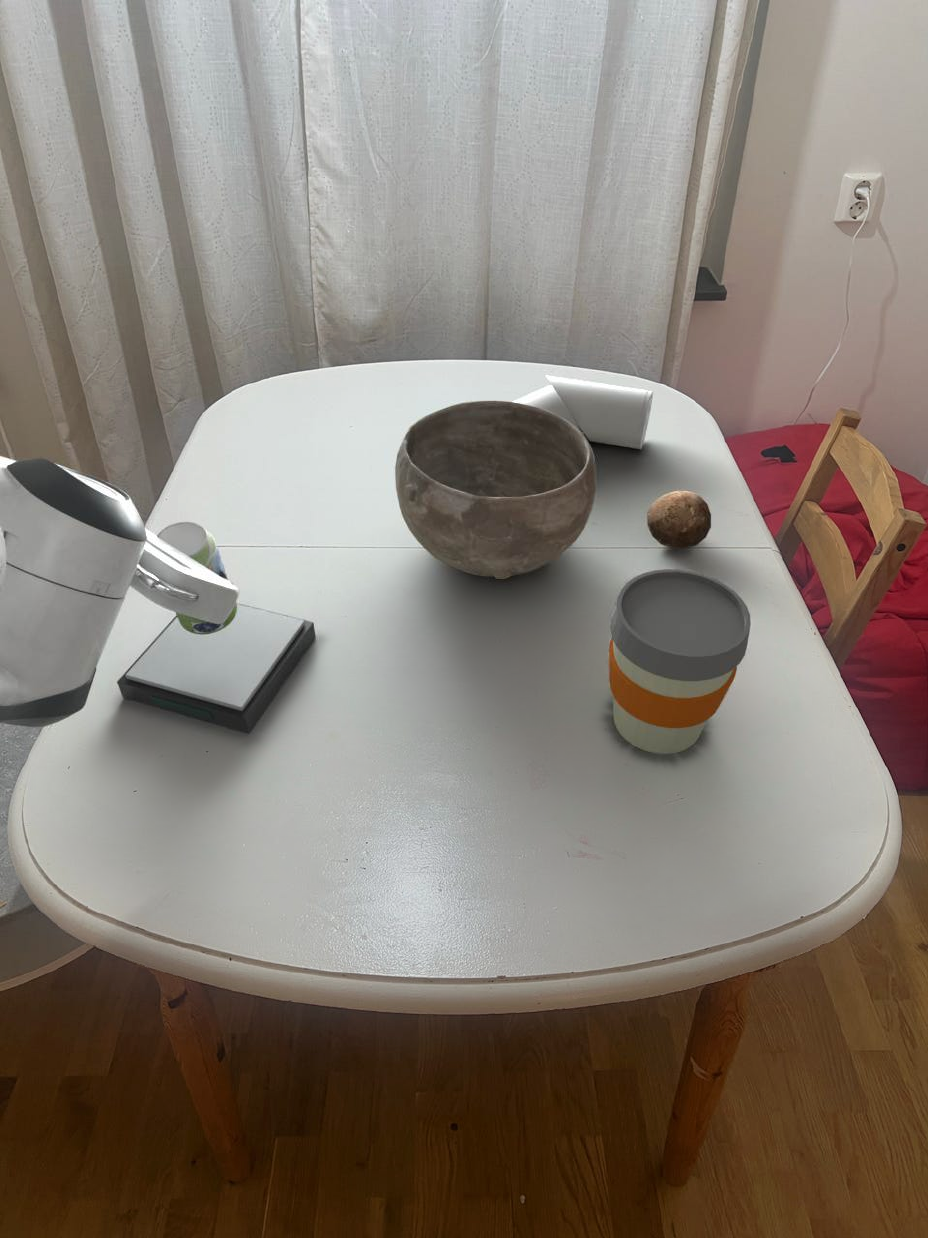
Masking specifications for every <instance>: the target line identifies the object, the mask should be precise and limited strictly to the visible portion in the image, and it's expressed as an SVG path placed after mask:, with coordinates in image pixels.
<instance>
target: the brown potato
mask: <svg viewBox="0 0 928 1238" xmlns="http://www.w3.org/2000/svg"><path fill="white" fill-rule="evenodd" d="M646 520H647V525H646V526H647V528H648V530H649V532H650V534H651V537H652V538H653V539H654V540H656V541H657V542H658V543H659V544H660V545H661V546H665V547H667V548H670V549H687V548H691V547H692V548H693V547H696V546H698V545H699V544H700V543H701V542H702V541H704V540H705V539H706V538H707V536H708V534H709V533H710V530H711V528H712V513H711V510H710V507H709V505H708V503H707V501H705V499H703V497H702V496H701V495H700V494H697V493H695V492H692V491H689V490H675V491H672V492H668V493H665V494H663V495H661V496H660V497H658V498H657V499H656V500H654V501H653V502H652V503H651V506H650V507H649V509H648V510H647V512H646Z"/></svg>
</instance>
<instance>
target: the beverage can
mask: <svg viewBox="0 0 928 1238" xmlns="http://www.w3.org/2000/svg"><path fill="white" fill-rule="evenodd" d="M156 536H157V537H159V538H160V539H162V540H164V541H165V542H167V543H168V544H170V545H172V546H173V547H175V548H176V549H178V550H179V551H181V552H182V553H184V554H186V555H187V556H189V557H190V558H192V559H193V560H195V561H197V562H198V563H200V564H201V565H203V566H204V567H206V568H207V569H209V570H211V571H212V572H214V573H215V574H217V575H218V576H220V577H223V578H225V579H226V580H228V581H230V579H229V577H228V574H227V571H226V567H225V564H224V561H223V559H222V557H221V556H222V555H221V553H220V551H219V547H218V544H217V541H216V539H215V538H214V535H212V534H211V533H210V532H209V531H208V530H206V529H205V528H204V527H203V526H202V525H200V524H198V523H196V522H192V521H182V522H181V521H179V522H175V523H172V524H170V525H167V526H166V527H164V528H162V529H161V531H160V532H158V534H157V535H156ZM237 603H238V602H236V603H235V606H234V608H233V610H232V612H231V613H230V615H229V617H228V618H227V620H226V621H225V622H223V623H221V624H215V623H211V622H207V621H204V620H200V619H197V618H193V617H190V616H186V615H183V614H180V613H177V612H174V613H175V616H176V615H177V617H178V620H179V622H180V624H181V626H182V627H183V628H184V629H185V630H187V631H189V632H191V633H194V634H200V635H204V634H211V633H215V632H218V631H220V630H222V629H223V628H225V627H226V626H228V625H229V624H230V623H231V622H232V621H233V619H234V618H235V615H236V613H237Z"/></svg>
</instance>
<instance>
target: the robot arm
mask: <svg viewBox="0 0 928 1238" xmlns="http://www.w3.org/2000/svg"><path fill="white" fill-rule="evenodd" d="M129 588H132V589H134V590H135V591H137V592H138V593H140V594H141V595H142V596H143V597H145V598H146V599H147V600H149V601H150V602H153V603H154V604H156V605H158V606H160V607H162V608H164V609H166V610H169V611H171V612H174V613H175V612H177V613H180V614H183V615H186V616H190V617H193V618H197V619H200V620H204V621H207V622H211V623H215V624H221V623H223V622H225V621H226V620H227V618H228V617H229V615H230V613H231V612H232V610H233V608H234V606H235V603H237V601H238V598H239V596H240V590H239V588H238V587H237V586H235V584H234V583H233V582H231V581H230V580H229V581H228V580H226V579H225V578H223V577H220V576H218V575H217V574H215V573H214V572H212V571H211V570H209V569H207V568H206V567H204V566H203V565H201V564H200V563H198V562H197V561H195V560H193V559H192V558H190V557H189V556H187V555H186V554H184V553H182V552H181V551H179V550H178V549H176V548H175V547H173V546H172V545H170V544H168V543H167V542H165V541H164V540H162V539H160V538H159V537H157V535H156V534H155V533H153V532H152V531H150V530H148V529H147V528H146V527H145V524H144V521H143V520H142V517H141V515H140V513H139V511H138V510H137V508H136V506H135V504H134V502H133V500H132V499H131V497H130V495H128V494H127V493H126V492H124V490H122V489H120V488H119V487H118V486H116V485H113V484H111V483H110V482H107V481H105V480H103V479H101V478H98V477H95V476H93V475H89V474H87V473H84V472H81V471H77V470H75V469H71V468H70V467H69V468H68V467H66V466H64V465H60V464H58V463H55V462H53V461H51V460H49V459H47V458H45V457H41V456H38V457H31V458H25V459H21V460H15V459H12V458H10V457H5V456H3V455H0V724H5V725H11V726H17V727H26V728H27V727H28V728H44V727H48V726H51V725H53V724H57V723H59V722H61V721H63V720H65V719H67V718H69V717H71V716H73V715H74V714H76V713H78V712H80V711H81V710H82V709H84V707H85V706H86V703H87V700H88V697H89V694H90V691H91V688H92V686H93V682H94V679H95V676H96V673H97V666H98V664H99V661H100V660H101V659H100V658H101V656H102V654H103V652H104V650H105V647H106V645H107V642H108V639H109V638H110V635H111V632H112V630H113V628H114V625H115V624H116V621H117V618H118V615H119V613H120V612H121V608H122V606H123V604H124V601H125V599H126V595H127V594H128V593H127V592H128V590H129Z"/></svg>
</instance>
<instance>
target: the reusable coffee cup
mask: <svg viewBox="0 0 928 1238" xmlns="http://www.w3.org/2000/svg"><path fill="white" fill-rule="evenodd" d="M751 620H752V619H751V614H750V611H749V608H748V606H747V604H746V603H745V601H744V599H743V598H742V597H741V595H739V594H738V593H737V592H736V591H735V590H734V589H732V588H731V587H730V586H728V585H727V584H725V583H724V582H722V581H720V580H718V579H717V578H714V577H711V576H709V575H707V574H704V573H700V572H697V571H692V570H687V569H680V568H679V569H678V568H664V569H656V570H651V571H647V572H643V573H641V574H639V575H636V576H634V577H633V578H632V579H630V580H629V581H627V582H626V583H625V584H624V586H623V587H622V588H621V589H620V591H619V593H618V595H617V598H616V600H615V604H614V607H613V611H612V613H611V616H610V622H609V630H610V631H609V632H610V637H611V638H610V640H609V645H608V683H609V689H610V692H611V694H612V716H613V723H614V725H615V727H616V730H617V732H618V733H619V734H620V735H621V736H622V738H624V739H625V741H627V743H630V744H631V745H632V746H634V747H636V748H638V749H640V750H642V751H645V752H648V753H652V754H659V755H670V754H677V753H680V752H683V751H686V750H687V749H689V748H691V747H692V746H693V745H694V744H696V742H697V741H698V739H699V738H700V735H701V733H702V732H703V730H704V728H705V726H706V724H707V722H708V720H709V719H711V718H712V717H713V716H714V715H715V714H716V713H717V712H718V710H719V708H720V707H721V704H722V702H723V701H724V699H725V697H726V695H727V693H728V692H729V690H730V687H731V685H732V684H733V682H734V680H735V678H736V674H737V670H738V666H739V665H740V664H741V662H742V661H743V659H744V658H745V656H746V654H747V653H746V652H747V648H748V644H749V637H750V631H751V626H752V623H751Z"/></svg>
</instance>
